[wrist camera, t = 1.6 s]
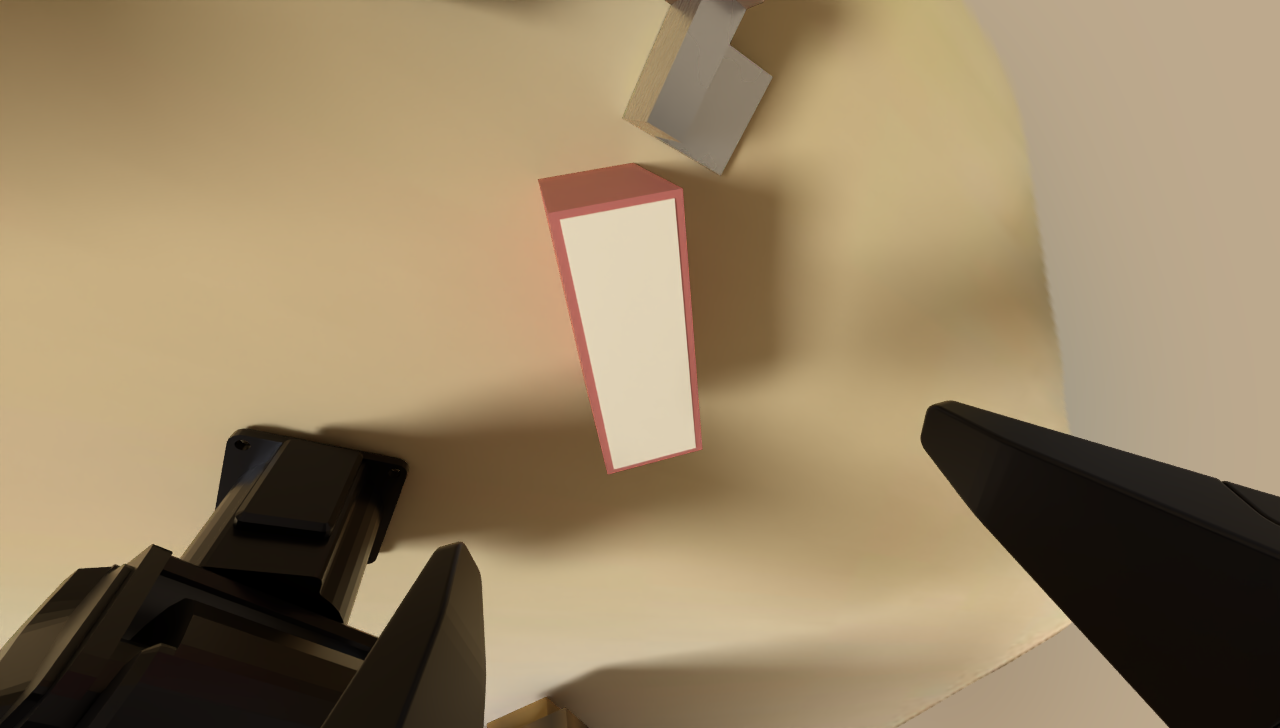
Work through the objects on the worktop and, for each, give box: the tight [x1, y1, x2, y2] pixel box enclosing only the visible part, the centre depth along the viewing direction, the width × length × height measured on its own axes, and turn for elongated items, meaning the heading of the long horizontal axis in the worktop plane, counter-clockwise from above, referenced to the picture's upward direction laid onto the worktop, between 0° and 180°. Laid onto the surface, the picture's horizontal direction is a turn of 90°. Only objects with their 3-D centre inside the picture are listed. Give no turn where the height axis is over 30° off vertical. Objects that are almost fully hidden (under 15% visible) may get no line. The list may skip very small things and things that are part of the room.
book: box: [538, 163, 702, 474], centre depth 16 cm, size 9×4×6 cm, turn 8°
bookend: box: [623, 0, 773, 175], centre depth 15 cm, size 4×4×4 cm
